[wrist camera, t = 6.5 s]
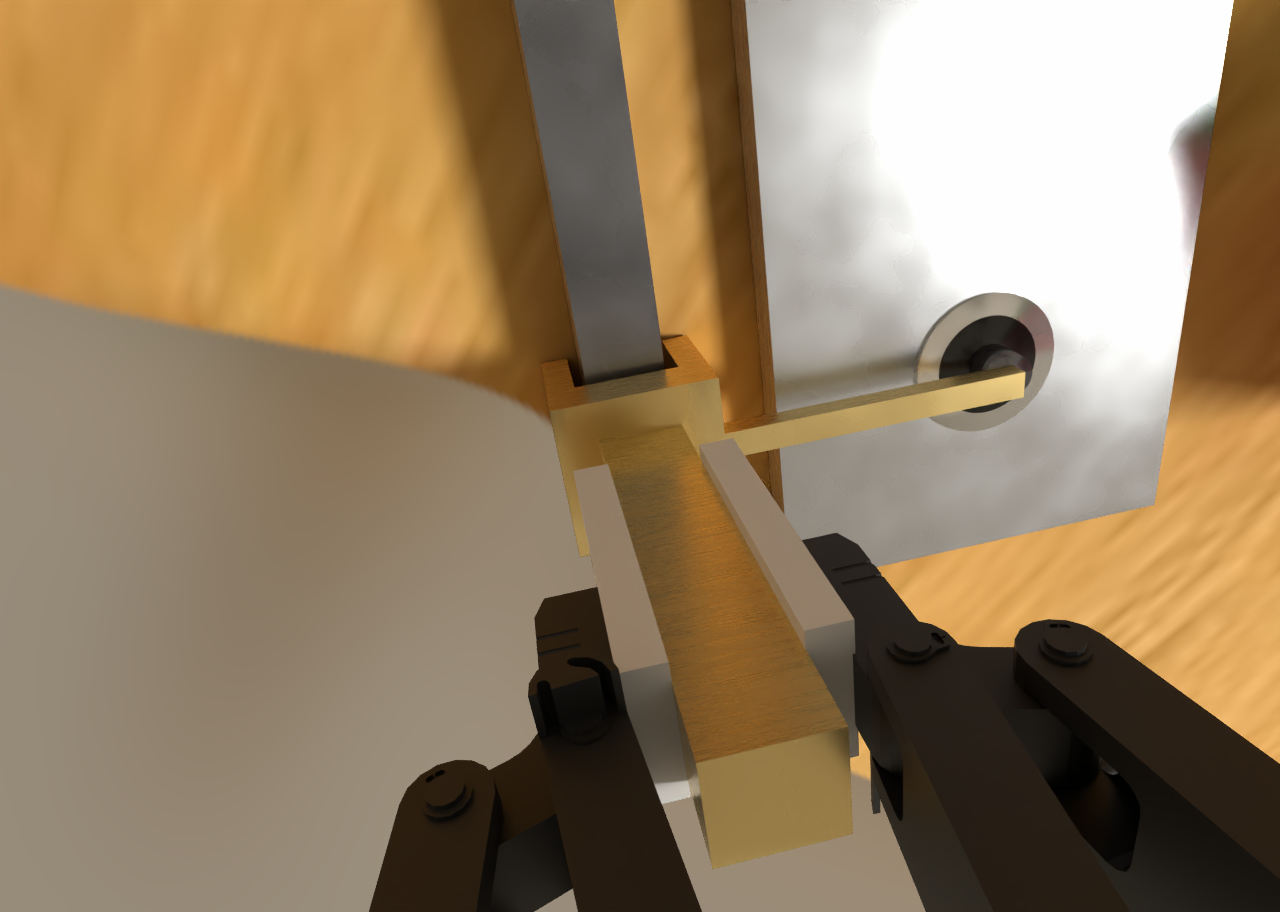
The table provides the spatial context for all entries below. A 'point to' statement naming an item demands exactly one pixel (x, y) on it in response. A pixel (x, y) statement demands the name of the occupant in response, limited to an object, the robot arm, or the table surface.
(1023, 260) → the bolt plate
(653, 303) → the rail
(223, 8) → the table surface
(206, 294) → the table surface
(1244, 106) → the table surface
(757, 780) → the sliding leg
